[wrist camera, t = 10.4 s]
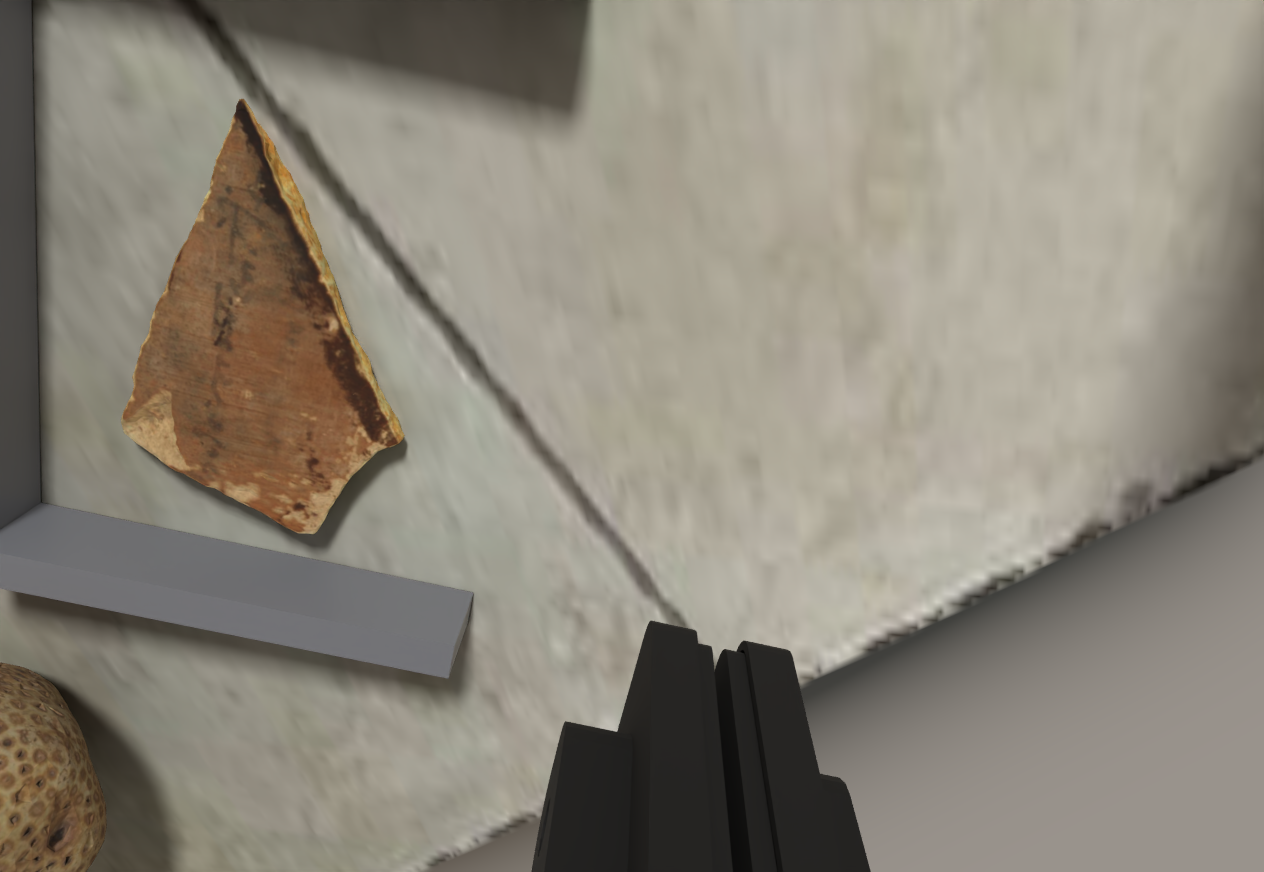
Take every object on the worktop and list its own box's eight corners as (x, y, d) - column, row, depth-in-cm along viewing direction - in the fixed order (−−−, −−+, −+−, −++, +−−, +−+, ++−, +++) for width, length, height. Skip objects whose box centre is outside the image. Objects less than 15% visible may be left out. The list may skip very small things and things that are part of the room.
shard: (263, 96, 24) (233, 96, 22) (510, 243, 25) (500, 253, 23) (132, 416, 27) (98, 437, 25) (355, 530, 28) (337, 557, 27)
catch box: (-24, -214, 21) (-128, -263, 18) (596, -54, 22) (588, -76, 19) (3, 527, 28) (-68, 574, 25) (467, 622, 29) (448, 678, 26)
